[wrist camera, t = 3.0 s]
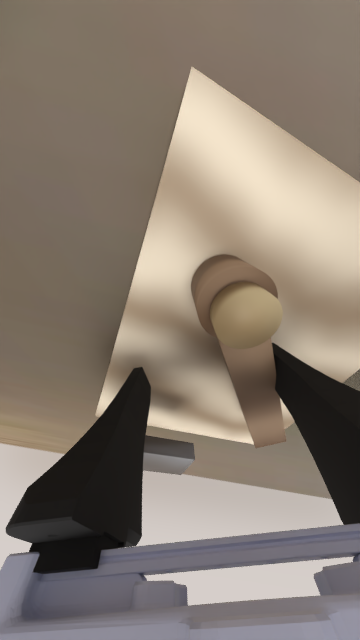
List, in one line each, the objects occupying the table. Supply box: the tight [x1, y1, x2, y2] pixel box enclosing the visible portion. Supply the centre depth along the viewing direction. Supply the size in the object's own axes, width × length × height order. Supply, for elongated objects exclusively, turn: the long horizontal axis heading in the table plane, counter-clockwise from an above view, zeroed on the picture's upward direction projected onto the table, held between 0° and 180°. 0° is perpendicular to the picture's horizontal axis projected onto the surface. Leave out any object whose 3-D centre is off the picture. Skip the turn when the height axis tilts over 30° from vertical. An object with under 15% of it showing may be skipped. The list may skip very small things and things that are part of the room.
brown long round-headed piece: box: [191, 254, 286, 448], centre depth 12 cm, size 15×4×3 cm, turn 21°
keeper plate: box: [95, 67, 360, 475], centre depth 12 cm, size 23×20×6 cm
